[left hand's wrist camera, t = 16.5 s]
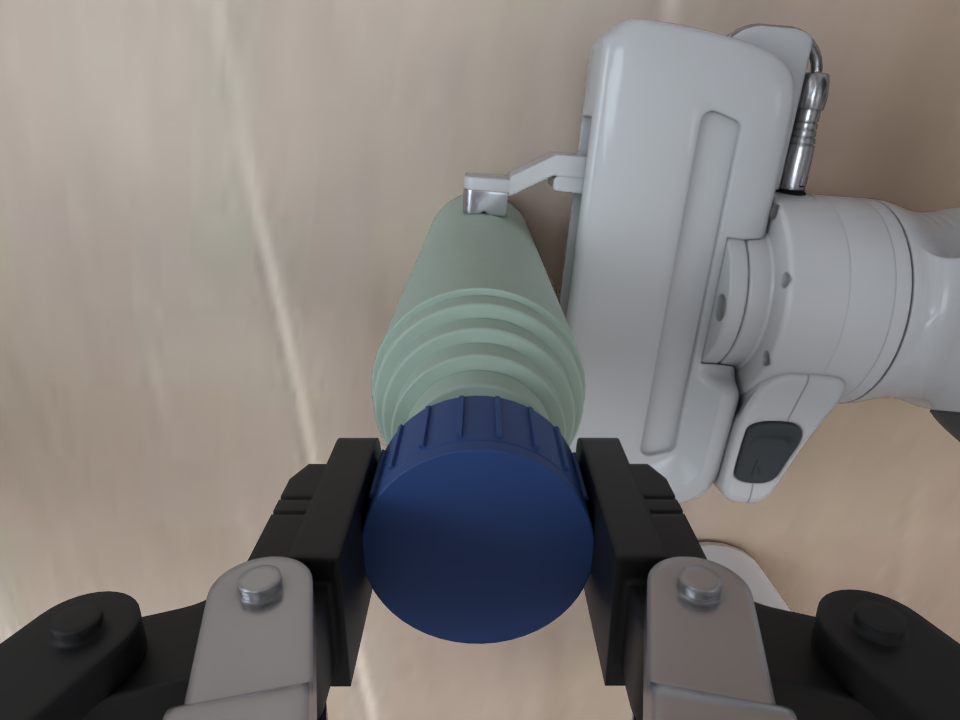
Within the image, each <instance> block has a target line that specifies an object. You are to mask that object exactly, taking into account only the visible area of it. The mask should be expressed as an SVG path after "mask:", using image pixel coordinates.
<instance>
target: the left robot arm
mask: <svg viewBox="0 0 960 720" xmlns="http://www.w3.org/2000/svg"><path fill="white" fill-rule="evenodd" d="M380 454H381V447H380V441H379V439H378V438H338V440H337V442H336V444H335V446H334V449H333V451H332V453H331V455H330V458H329V460H328V462H327V464H308V465H307V466H306V467H305V468H303V469H302V470H301V471H300V472H298V473H297V474H296V475H294V476H293V477H292V478H291V479H290V480H289V482H288V484H287V486H286V487H285V489H284V491H283V493H282V495H281V500H279V501H278V503H277V505H276V507H275V509H274V511H273V515H271V517H270V519H269V520H268V522H267V524H266V526H265V528H264V530H263V532H262V534H261V536H260V538H259V540H258V542H257V544H256V546H255V548H254V550H253V552H252V554H251V555H250V557H249V559H248V561H247V562H244V563H242V564H239V565H237V566H235V567H233V568H232V569H230V570H228V571H227V572H226V573H224V574H223V575H222V576H221V577H219V578H218V579H217V580H216V582H215V583H214V584H213V585H212V587H211V589H210V590H209V593H208V596H207V600H205V601H203V602H200V603H197V604H195V605H192V606H188V607H185V608H181V609H176V610H172V611H167V612H163V613H158V614H154V615H150V616H145V617H142V616H141V612H140V608H139V605H138V603H137V602H136V600H135V599H133V598H132V597H131V596H129V595H126V594H124V593H119V592H110V591H107V592H96V593H89V594H85V595H81V596H78V597H75V598H72V599H69V600H67V601H65V602H62V603H60V604H58V605H56V606H54V607H52V608H51V609H49V610H47V611H46V612H44V613H43V614H41V615H40V616H38V617H37V618H36V619H34V620H33V621H31V622H30V623H29V624H27V625H26V626H24V627H23V628H22V629H20V630H19V631H18V632H16V633H15V634H13V635H12V636H11V637H9V638H8V639H6V640H5V641H4V642H2V643H1V644H0V720H328V714H327V705H326V700H327V696H328V692H329V689H330V686H351V683H352V678H353V674H354V669H355V665H356V660H357V656H358V651H359V647H360V642H361V638H362V633H363V629H364V625H365V620H366V616H367V611H368V607H369V602H370V598H371V593H372V589H373V588H372V586H371V584H370V582H369V580H368V578H367V575H366V572H365V562H364V549H363V535H362V529H363V526H364V522H365V518H366V515H367V511H368V507H369V504H370V500H371V498H369V497H368V496H369V492H370V489H371V485H372V482H373V478H374V475H375V471H376V468H377V464H378V461H379V457H380ZM576 455H577V459H578V462H579V466H580V469H581V473H582V476H583V480H584V484H585V487H586V491H587V494H588V498H589V500H586V503H587V507H588V510H589V514H590V518H591V521H592V526H593V530H594V538H593V553H592V566H591V573H590V575H589V578H588V580H587V582H586V584H585V586H584V591H585V595H586V600H587V605H588V609H589V614H590V618H591V623H592V628H593V632H594V637H595V641H596V646H597V651H598V655H599V660H600V665H601V669H602V674H603V678H604V683H605V686H626V690H627V694H628V698H629V702H630V706H631V709H632V712H633V714H632V720H960V644H959V643H958V642H956V641H955V640H953V639H952V638H951V637H949V636H948V635H947V634H945V633H944V632H942V631H941V630H940V629H938V628H937V627H936V626H934V625H933V624H931V623H930V622H929V621H927V620H926V619H924V618H923V617H922V616H920V615H919V614H918V613H916V612H915V611H913V610H911V609H910V608H908V607H907V606H905V605H903V604H901V603H899V602H897V601H895V600H892V599H890V598H888V597H885V596H882V595H879V594H875V593H871V592H867V591H861V590H839V591H835V592H832V593H829V594H827V595H826V596H824V597H823V598H822V599H821V601H820V602H819V605H818V609H817V613H816V617H813V616H809V615H804V614H800V613H795V612H791V611H786V610H782V609H778V608H773V607H770V606H766V605H762V604H760V603H757V602H754V600H753V596H752V593H751V590H750V589H749V587H748V585H747V584H746V583H745V582H744V580H743V579H742V578H741V577H739V576H738V575H737V574H736V573H734V572H733V571H732V570H730V569H728V568H727V567H725V566H723V565H721V564H718V563H716V562H713V561H710V560H707V558H706V556H705V554H704V552H703V550H702V548H701V546H700V544H699V542H698V540H697V538H696V536H695V534H694V532H693V530H692V528H691V526H690V524H689V522H688V520H687V518H686V516H685V514H683V510H682V508H681V506H680V504H679V502H678V500H677V499H675V494H674V492H673V490H672V489H671V487H670V485H669V483H668V481H667V479H666V478H665V477H664V476H662V475H661V474H660V473H659V472H657V471H656V470H655V469H654V468H652V467H651V466H650V465H649V464H629V461H628V459H627V457H626V454H625V452H624V449H623V447H622V445H621V442H620V440H619V439H618V438H578V440H577V445H576Z"/></svg>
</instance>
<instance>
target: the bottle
mask: <svg viewBox="0 0 960 720" xmlns="http://www.w3.org/2000/svg"><path fill="white" fill-rule="evenodd" d="M585 389H586V382H585V371H584V367H583V362H582V359H581V356H580V353H579V350H578V348H577V345H576V343H575V340H574V338H573V336H572V333H571V331H570V328H569V326H568V323H567V321H566V319H565V316H564V314H563V311H562V309H561V306H560V304H559V302H558V299H557V297H556V294H555V292H554V289H553V287H552V285H551V282H550V280H549V277H548V275H547V273H546V270H545V268H544V265H543V263H542V260H541V258H540V256H539V253H538V251H537V248H536V246H535V243H534V241H533V239H532V236H531V234H530V231H529V229H528V226H527V224H526V222H525V220H524V218H523V216H522V215H521V213H520V212H519V211H518V210H517V209H516V208H515V206H513V205H512V204H511V203H510V202H508V201H507V211H506V217H504V216H493V215H489V214H487V213H486V212H485V211H484V212H482V213H480V214H468V213H464V212H463V195H462V196H459V197H457V198H455V199H453V200H452V201H450V202H449V203H448V204H446V205H445V206H444V207H443V208H442V209H441V210H440V211H439V213H438V214H437V215H436V217H435V219H434V221H433V223H432V225H431V228H430V230H429V232H428V235H427V237H426V240H425V242H424V244H423V247H422V249H421V251H420V254H419V256H418V259H417V261H416V263H415V266H414V268H413V270H412V273H411V275H410V277H409V280H408V282H407V285H406V287H405V289H404V292H403V294H402V296H401V299H400V301H399V304H398V306H397V308H396V311H395V313H394V315H393V318H392V320H391V322H390V325H389V327H388V330H387V332H386V334H385V337H384V339H383V341H382V344H381V346H380V349H379V351H378V354H377V356H376V359H375V363H374V368H373V373H372V398H373V403H374V412H375V417H376V422H377V425H378V428H379V431H380V433H381V435H382V437H383V439H384V441H385V443H386V445H387V446H388V444H389V443H390V441H391V439H392V438H393V436H394V435H395V434H396V433H397V430H398V427H399V426H400V425H401V424H402V425H404V424H405V423H406V422H407V421H408V420H409V419H411V418H412V417H413V416H415V415H416V414H418V413H419V412H421V411H422V410H424V409H425V407H426V406H428V405H430V406H432V405H434V404H437V403H439V402H442V401H445V400H449V399H453V398H458V397H459V396H462V395H464V396H492V397H495V396H500V398H504V399H507V400H511V401H515V402H517V403H519V404H522V405H524V406H527V407H529V406H530V407H532V408H533V410H534V411H536V412H537V413H539V414H540V415H542V416H543V417H544V418H546V419H547V420H548V421H549V422H550V423H551V424H552V425H553V426H555V427H556V426H558V427H559V428H560V432H561V435H562V436H563V437H564V439H565V440H566V442H567V444H568V445H569V447H570V445H571V444H572V442H573V440H574V438H575V436H576V434H577V431H578V428H579V426H580V423H581V418H582V414H583V405H584V400H585Z"/></svg>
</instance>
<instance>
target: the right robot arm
mask: <svg viewBox="0 0 960 720" xmlns="http://www.w3.org/2000/svg"><path fill="white" fill-rule="evenodd" d="M809 59H810V64H811V72H808V73H806V69H807V65H808V61H809ZM822 69H823V65H822V56H821V52H820V50H819V47H818V45H817V44H816V42H815V40H814V39H813V38H812V37H811V36H810V35H809V34H808V33H806V32H805V31H803V30H801V29H798V28H795V27H792V26H780V25H769V24H750V25H746V26H743V27H741V28H738V29H736V30H735V31H733V32H732V33H730V34H729V35H728V36H726V35H722V34H718V33H715V32H711V31H707V30H702V29H698V28H694V27H689V26H684V25H679V24H673V23H667V22H660V21H654V20H645V19H628V20H624V21H621V22H619V23H617V24H616V25H614V26H613V27H611V28H610V29H609V30H607V31H606V32H605V33H604V34H603V35H602V36H601V37H600V38H599V39H598V40H597V41H596V42H595V43H594V44H593V46H592V48H591V51H590V57H589V65H588V73H587V81H586V89H585V97H584V105H583V113H582V121H581V129H580V137H579V146H578V154H576V153H563V152H549V153H547V154H545V155H543V156H541V157H539V158H537V159H535V160H533V161H531V162H529V163H527V164H525V165H523V166H521V167H519V168H517V169H515V170H513V171H511V172H509V173H508V176H506V175H494V174H481V173H465V179H464V194H463V212H464V213H468V214H480V213H482V212H484V211H485V212H486V213H487V214H489V215H493V216H504V217H506V211H507V201H508V195H509V196H511V195H514V194H516V193H518V192H520V191H522V190H524V189H526V188H528V187H530V186H533V185H535V184H537V183H539V182H541V181H543V180H545V179H547V178H548V183H549V185H550V186H551V187H552V188H553V189H554V190H555V191H559V192H570V193H573V194H572V202H571V210H570V218H569V226H568V235H567V243H566V251H565V259H564V267H563V275H562V283H561V291H560V299H559V304H560V306H561V309H562V311H563V314H564V316H565V319H566V321H567V323H568V326H569V328H570V331H571V333H572V336H573V338H574V340H575V343H576V345H577V348H578V350H579V353H580V356H581V359H582V362H583V367H584V371H585V382H586V389H585V400H584V405H583V414H582V418H581V423H580V426H579V428H578V431H577V434H576V436H575V438H574V440H573V442H572V444H571V445H570V449H571V451H572V453H573V452H575V453H576V445H577V440H578V438H618V439H619V440H620V442H621V445H622V447H623V449H624V452H625V454H626V457H627V459H628V461H629V464H649V465H650V466H651V467H652V468H654V469H655V470H656V471H657V472H659V473H660V474H661V475H662V476H664V477H665V478H666V479H667V481H668V483H669V485H670V487H671V489H672V490H673V492H674V494H675V499H677V500H678V502H679V504H680V503H684V502H687V501H690V500H692V499H695V498H697V497H698V496H700V495H701V494H703V493H704V492H705V491H706V490H707V489H708V488H709V487H710V486H711V485H712V483H714V485H715V486H716V487H717V488H718V489H719V491H720V492H721V493H722V494H723V495H724V496H725V497H726V498H727V499H729V500H732V501H736V502H743V503H754V502H759V501H762V500H763V499H765V498H766V497H767V496H768V495H769V494H770V493H771V492H772V491H773V490H774V488H775V487H776V485H777V484H778V482H779V481H780V479H781V478H782V476H783V475H784V473H785V471H786V470H787V468H788V467H789V465H790V464H791V462H792V461H793V459H794V458H795V457H796V455H797V454H798V452H799V451H800V449H801V448H802V447H803V445H804V444H805V442H806V441H807V440H808V438H809V437H810V436H811V434H812V433H813V432H814V431H815V429H816V428H817V427H818V426H819V424H820V423H821V422H822V421H823V420H824V418H825V417H826V416H827V415H828V414H829V413H830V411H831V410H832V409H833V408H834V407H835V406H836V404H837V403H855V402H860V401H865V400H870V399H876V398H896V399H900V400H903V401H906V402H908V403H911V404H913V405H916V406H919V407H923V408H927V409H931V410H930V412H931V414H932V415H933V416H934V418H935V419H936V420H937V421H938V422H939V423H940V424H941V425H942V426H943V427H944V428H945V429H946V430H947V431H948V432H949V433H950V434H951V435H952V436H954V437H955V438H956V439H957V440H958V441H960V207H953V208H947V209H942V210H938V211H933V212H925V213H923V212H914V211H910V210H907V209H905V208H902V207H900V206H898V205H895V204H893V203H890V202H887V201H883V200H877V199H869V198H856V197H842V196H830V195H817V194H807V193H805V192H804V191H805V186H806V183H807V179H808V174H809V170H810V166H811V162H812V158H813V152H814V147H815V146H814V144H815V137H816V129H817V126H818V124H817V122H819V118H820V114H821V110H823V109H824V107H825V104H826V101H827V97H828V92H829V83H830V78H829V74H827V73H822ZM775 189H776V191H775Z"/></svg>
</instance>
